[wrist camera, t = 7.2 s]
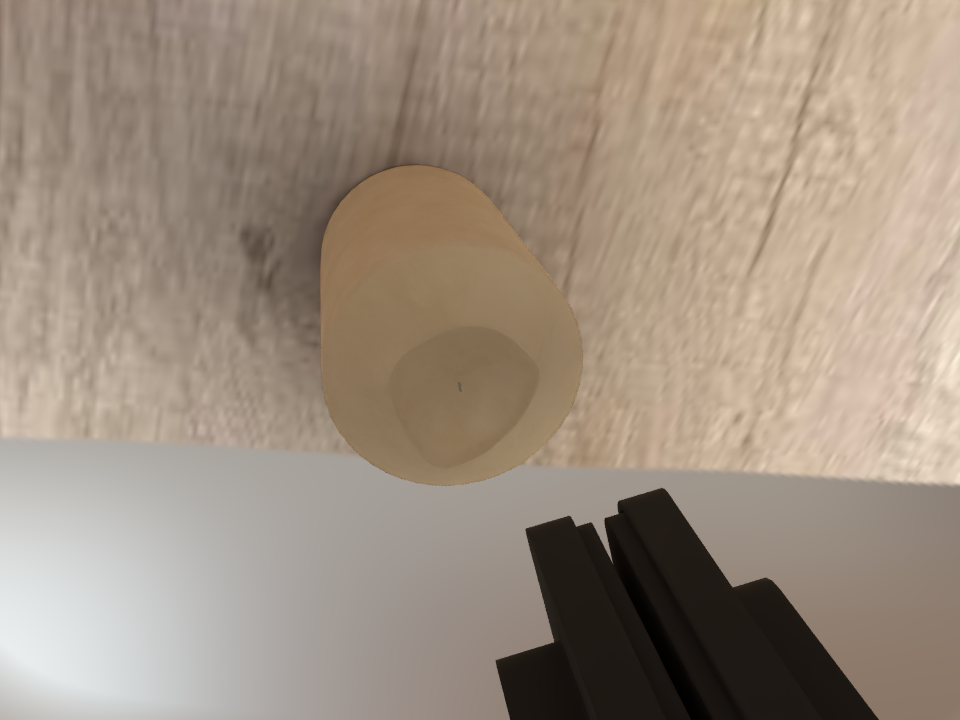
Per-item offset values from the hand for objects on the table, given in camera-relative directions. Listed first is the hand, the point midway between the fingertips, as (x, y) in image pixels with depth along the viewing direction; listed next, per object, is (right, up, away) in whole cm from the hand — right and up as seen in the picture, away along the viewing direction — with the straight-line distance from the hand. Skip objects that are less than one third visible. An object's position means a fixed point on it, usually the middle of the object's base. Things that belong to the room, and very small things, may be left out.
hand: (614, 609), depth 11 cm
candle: (-4, +6, +16) cm, 18 cm away
